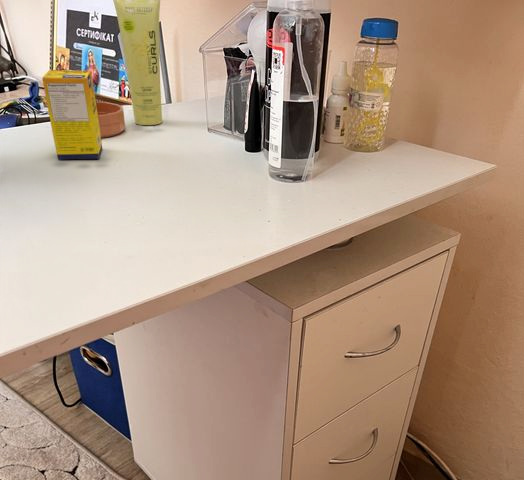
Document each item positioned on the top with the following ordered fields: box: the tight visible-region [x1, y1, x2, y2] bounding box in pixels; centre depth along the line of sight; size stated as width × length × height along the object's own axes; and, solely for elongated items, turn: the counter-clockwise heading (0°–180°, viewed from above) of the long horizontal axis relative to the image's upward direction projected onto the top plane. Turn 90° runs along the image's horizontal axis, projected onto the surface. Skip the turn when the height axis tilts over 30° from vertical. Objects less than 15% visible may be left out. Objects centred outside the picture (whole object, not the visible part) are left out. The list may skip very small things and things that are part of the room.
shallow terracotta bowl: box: [96, 101, 126, 139], centre depth 89 cm, size 11×11×4 cm
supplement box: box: [41, 69, 103, 161], centre depth 76 cm, size 6×6×11 cm
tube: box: [112, 0, 163, 126], centre depth 90 cm, size 6×5×20 cm
